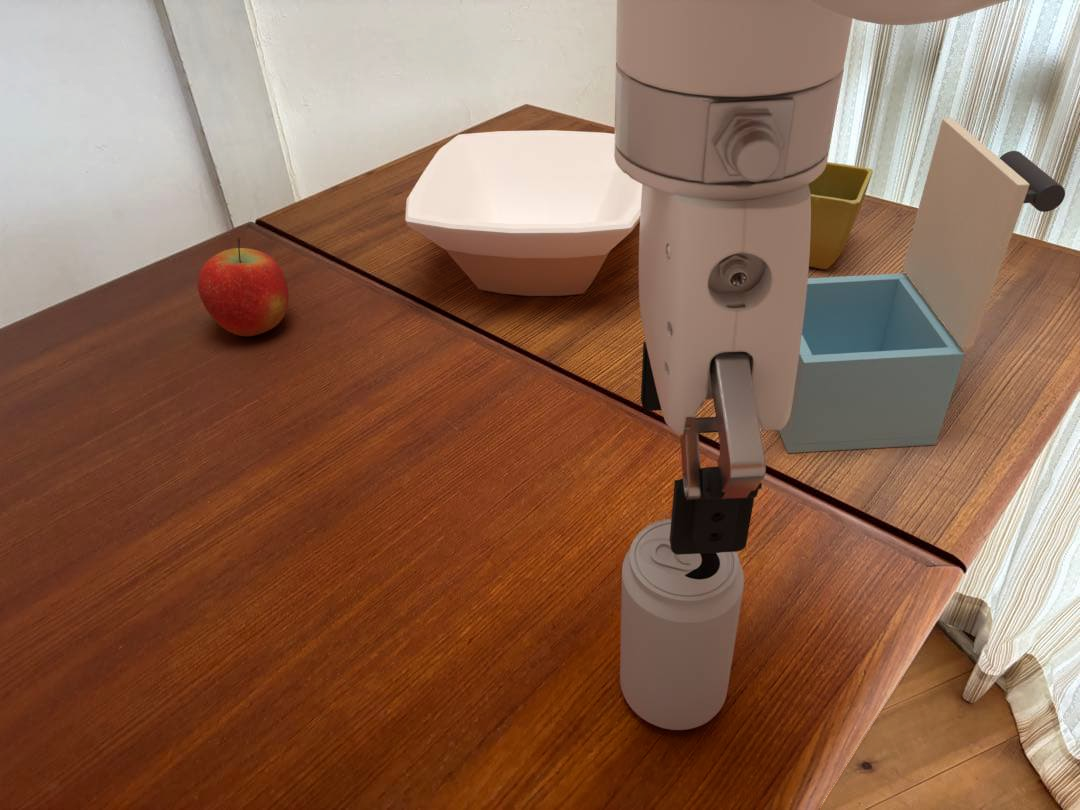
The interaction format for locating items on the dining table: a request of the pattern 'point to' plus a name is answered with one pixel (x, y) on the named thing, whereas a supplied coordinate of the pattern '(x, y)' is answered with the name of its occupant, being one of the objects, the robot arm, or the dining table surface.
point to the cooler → (870, 367)
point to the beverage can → (677, 629)
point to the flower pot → (835, 210)
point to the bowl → (526, 208)
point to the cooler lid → (970, 224)
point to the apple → (243, 291)
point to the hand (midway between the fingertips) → (687, 470)
